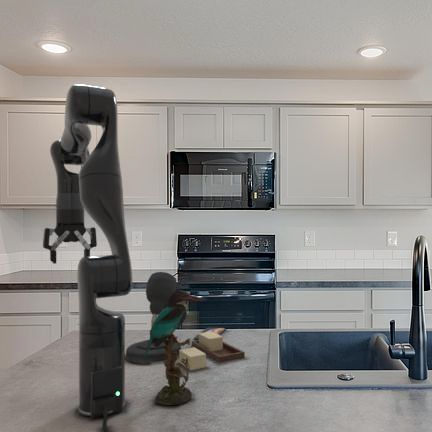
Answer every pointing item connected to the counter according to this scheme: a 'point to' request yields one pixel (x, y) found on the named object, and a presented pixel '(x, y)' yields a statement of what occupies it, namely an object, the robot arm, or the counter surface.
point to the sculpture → (160, 333)
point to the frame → (220, 352)
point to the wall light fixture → (158, 297)
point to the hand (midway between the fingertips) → (70, 262)
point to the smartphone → (215, 330)
